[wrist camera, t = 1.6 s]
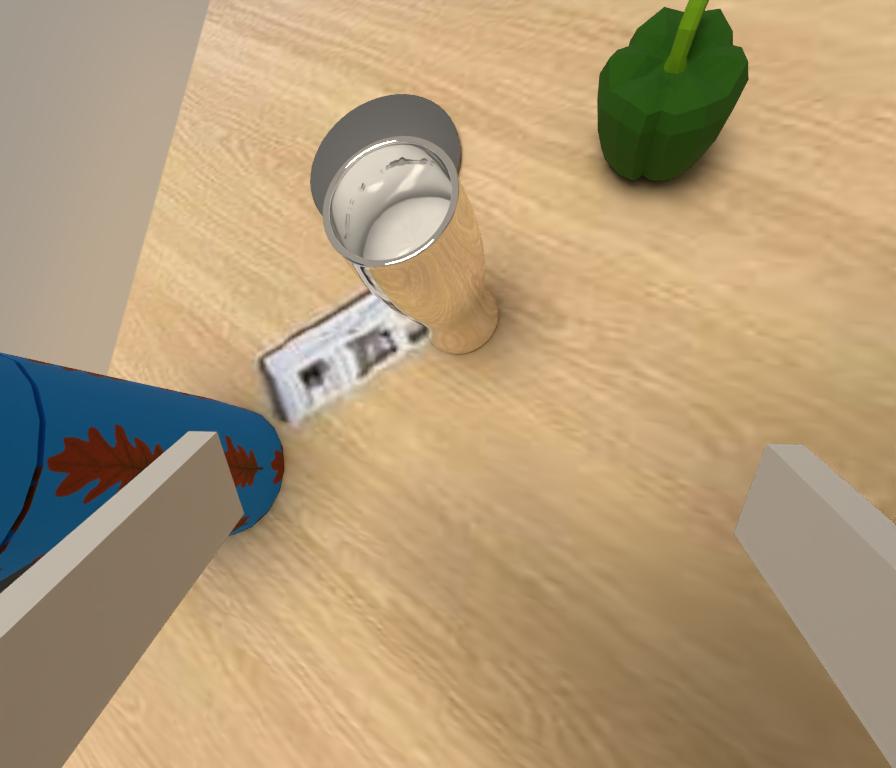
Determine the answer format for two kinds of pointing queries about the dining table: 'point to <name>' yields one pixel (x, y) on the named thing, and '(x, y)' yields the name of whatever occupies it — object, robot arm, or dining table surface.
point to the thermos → (106, 449)
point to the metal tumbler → (413, 239)
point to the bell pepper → (669, 92)
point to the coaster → (381, 134)
